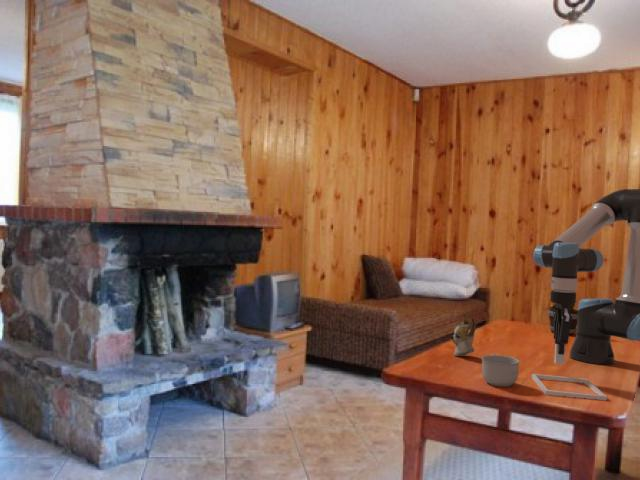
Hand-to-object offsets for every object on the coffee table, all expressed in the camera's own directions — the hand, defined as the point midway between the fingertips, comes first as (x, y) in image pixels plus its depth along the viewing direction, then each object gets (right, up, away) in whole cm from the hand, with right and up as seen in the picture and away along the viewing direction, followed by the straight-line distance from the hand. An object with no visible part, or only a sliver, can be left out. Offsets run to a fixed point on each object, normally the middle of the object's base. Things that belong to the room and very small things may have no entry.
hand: (559, 363), depth 181 cm
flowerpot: (+37, -5, +84) cm, 92 cm away
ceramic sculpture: (-25, -3, +25) cm, 36 cm away
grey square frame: (-2, -6, -11) cm, 13 cm away
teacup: (-22, -5, -8) cm, 24 cm away
